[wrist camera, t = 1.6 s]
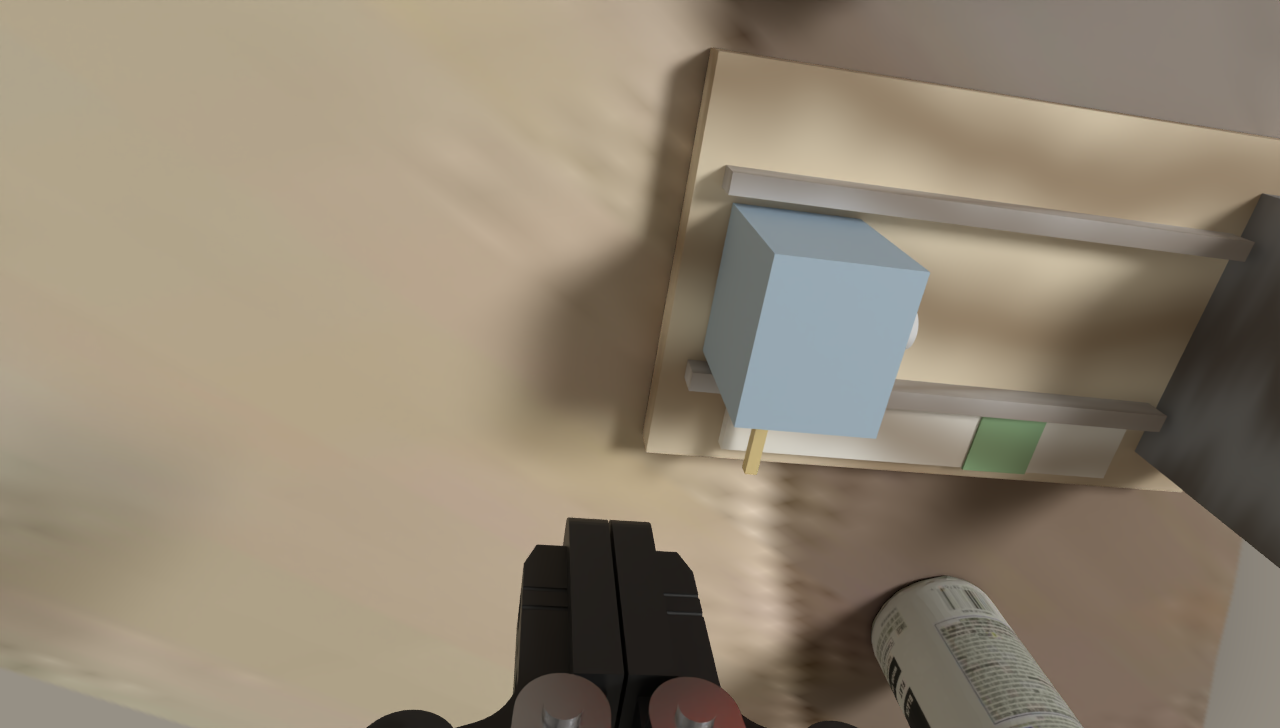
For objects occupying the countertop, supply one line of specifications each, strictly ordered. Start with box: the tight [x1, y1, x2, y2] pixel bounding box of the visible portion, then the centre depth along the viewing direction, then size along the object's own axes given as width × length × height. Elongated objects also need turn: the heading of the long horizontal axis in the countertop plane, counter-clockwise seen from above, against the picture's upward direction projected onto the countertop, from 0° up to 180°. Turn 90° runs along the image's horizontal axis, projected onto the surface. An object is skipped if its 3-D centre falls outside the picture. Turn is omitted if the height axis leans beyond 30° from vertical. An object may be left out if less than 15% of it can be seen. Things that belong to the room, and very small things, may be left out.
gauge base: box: [642, 48, 1280, 568], centre depth 29 cm, size 16×26×10 cm, turn 81°
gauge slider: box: [703, 203, 930, 475], centre depth 29 cm, size 10×6×6 cm, turn 171°
